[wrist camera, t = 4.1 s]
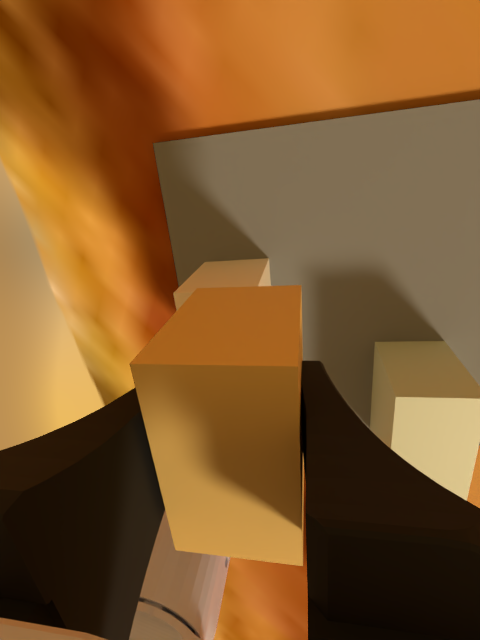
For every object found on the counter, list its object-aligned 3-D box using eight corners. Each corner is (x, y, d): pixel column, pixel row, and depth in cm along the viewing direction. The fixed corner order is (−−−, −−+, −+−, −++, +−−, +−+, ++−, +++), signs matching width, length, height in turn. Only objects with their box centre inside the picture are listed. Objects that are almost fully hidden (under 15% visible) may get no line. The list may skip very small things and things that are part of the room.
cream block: (275, 357, 21) (267, 412, 16) (218, 357, 21) (195, 409, 17) (268, 258, 18) (256, 289, 14) (204, 262, 19) (173, 293, 14)
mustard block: (304, 432, 13) (302, 566, 9) (217, 427, 14) (175, 550, 10) (301, 285, 11) (298, 366, 7) (197, 288, 12) (129, 364, 7)
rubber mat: (495, 441, 21) (499, 446, 20) (206, 429, 24) (205, 433, 24) (582, 86, 14) (590, 84, 13) (156, 143, 17) (152, 143, 17)
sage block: (431, 430, 21) (465, 504, 16) (369, 428, 21) (386, 498, 17) (444, 340, 18) (489, 398, 14) (374, 341, 19) (395, 397, 15)
